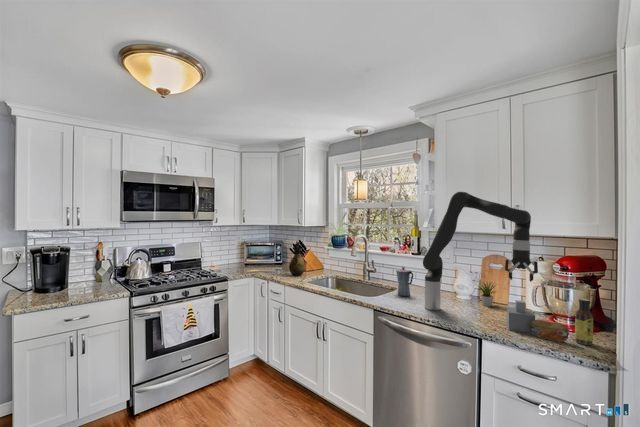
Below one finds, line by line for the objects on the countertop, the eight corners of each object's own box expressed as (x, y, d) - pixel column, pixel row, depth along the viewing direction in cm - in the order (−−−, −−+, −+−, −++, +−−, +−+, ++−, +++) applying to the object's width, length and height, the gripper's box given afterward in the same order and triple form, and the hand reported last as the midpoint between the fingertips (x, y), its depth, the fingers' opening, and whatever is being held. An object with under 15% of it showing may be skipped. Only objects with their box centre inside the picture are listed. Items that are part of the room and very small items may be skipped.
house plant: (498, 303, 209) (498, 278, 209) (504, 309, 195) (504, 282, 195) (474, 301, 213) (475, 277, 213) (478, 307, 199) (479, 281, 200)
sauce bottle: (590, 347, 139) (590, 302, 139) (573, 342, 144) (573, 299, 144) (594, 344, 143) (595, 300, 143) (577, 339, 148) (577, 297, 148)
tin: (529, 335, 153) (529, 317, 153) (530, 333, 155) (530, 316, 155) (568, 344, 142) (568, 325, 142) (569, 342, 144) (569, 324, 144)
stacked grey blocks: (508, 330, 160) (508, 302, 160) (506, 323, 170) (506, 297, 170) (535, 333, 155) (535, 305, 155) (531, 326, 165) (531, 300, 165)
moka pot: (399, 292, 237) (399, 265, 237) (417, 296, 225) (417, 268, 225) (391, 294, 231) (391, 266, 231) (409, 298, 219) (410, 269, 219)
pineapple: (308, 276, 294) (308, 244, 295) (293, 277, 286) (293, 244, 286) (299, 273, 309) (300, 242, 309) (285, 274, 301) (285, 243, 301)
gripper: (506, 248, 162) (505, 280, 162) (539, 250, 156) (538, 283, 156) (504, 247, 169) (504, 277, 169) (536, 249, 163) (535, 280, 163)
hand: (520, 280), depth 162 cm, fingers open, 8 cm apart
